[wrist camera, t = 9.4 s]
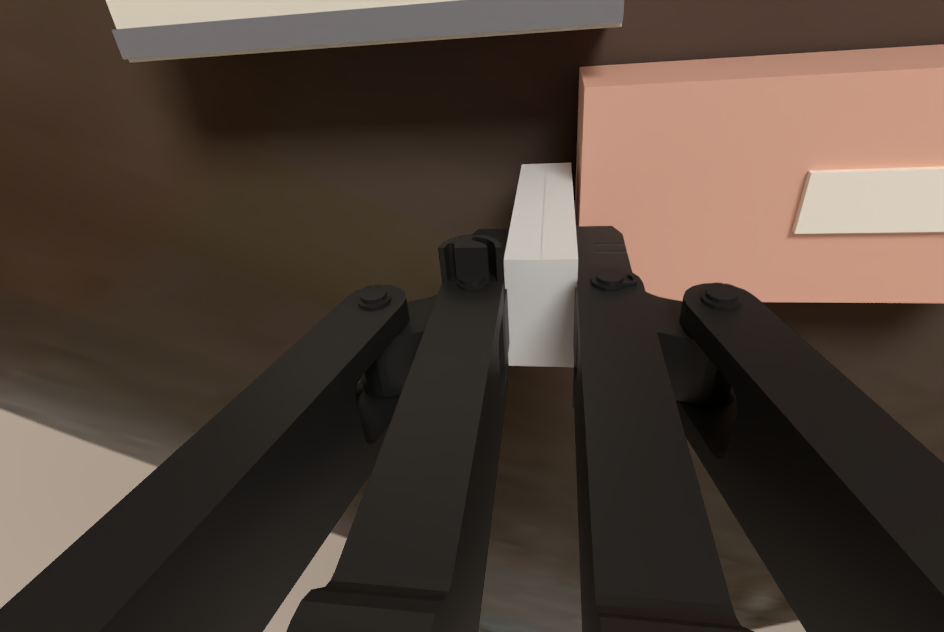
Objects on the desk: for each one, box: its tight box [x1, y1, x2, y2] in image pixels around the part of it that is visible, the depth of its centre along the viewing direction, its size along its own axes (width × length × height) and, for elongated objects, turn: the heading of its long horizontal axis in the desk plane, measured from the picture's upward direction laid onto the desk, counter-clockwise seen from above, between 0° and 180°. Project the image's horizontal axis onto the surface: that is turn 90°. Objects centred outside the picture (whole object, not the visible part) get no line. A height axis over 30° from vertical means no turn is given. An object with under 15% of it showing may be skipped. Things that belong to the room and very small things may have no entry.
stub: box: [575, 44, 944, 303], centre depth 15 cm, size 13×6×4 cm, turn 94°
